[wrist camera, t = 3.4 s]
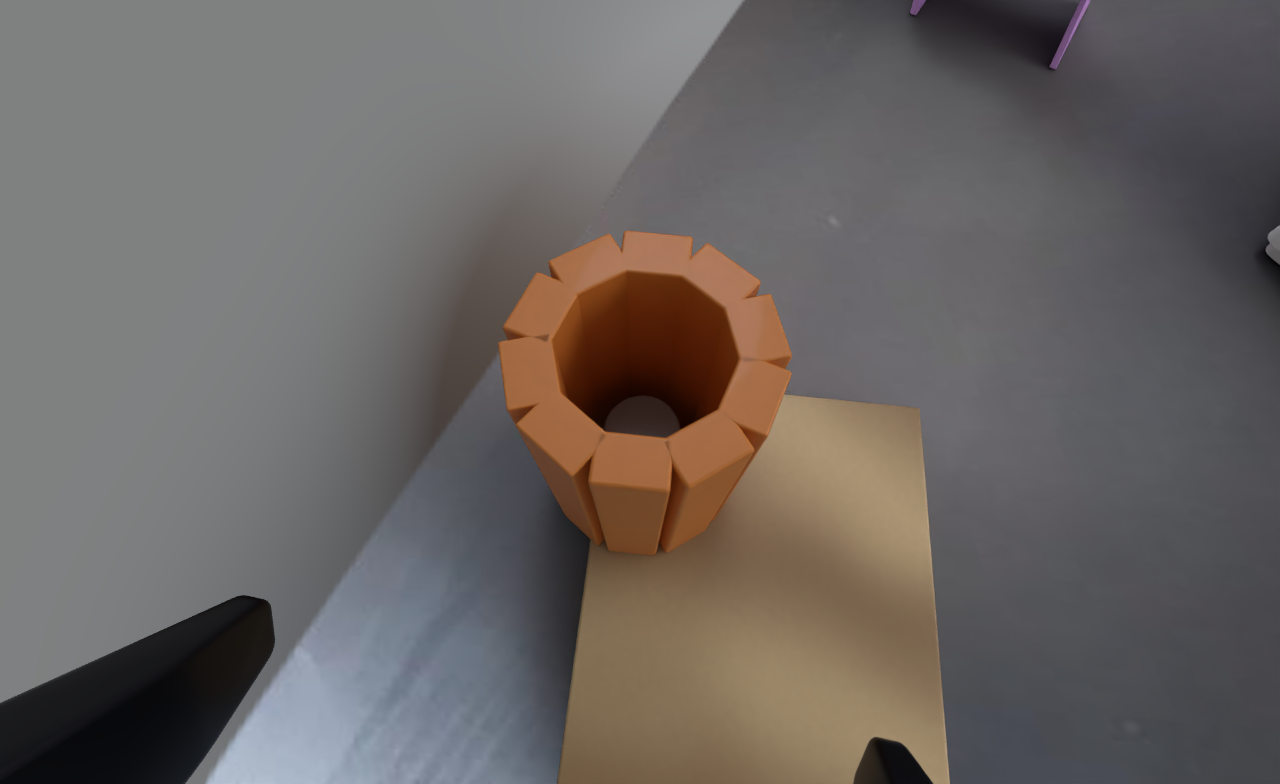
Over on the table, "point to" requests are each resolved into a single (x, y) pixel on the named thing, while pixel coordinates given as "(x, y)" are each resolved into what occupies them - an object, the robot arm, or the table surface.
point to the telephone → (1274, 245)
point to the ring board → (768, 616)
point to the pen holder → (643, 383)
